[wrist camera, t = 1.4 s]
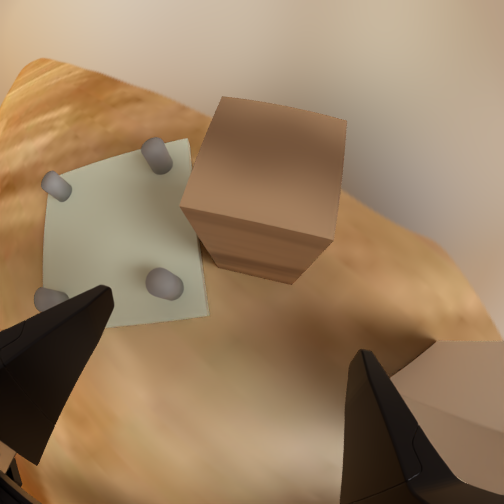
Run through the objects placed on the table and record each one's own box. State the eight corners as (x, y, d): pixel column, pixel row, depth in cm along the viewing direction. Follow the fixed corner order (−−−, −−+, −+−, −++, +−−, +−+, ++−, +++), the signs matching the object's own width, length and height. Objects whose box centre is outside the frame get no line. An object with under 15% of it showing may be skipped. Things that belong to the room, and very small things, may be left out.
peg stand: (210, 315, 22) (199, 314, 18) (53, 331, 21) (25, 330, 17) (189, 145, 26) (180, 118, 22) (56, 183, 25) (35, 166, 21)
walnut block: (291, 284, 22) (333, 240, 10) (218, 267, 23) (179, 205, 11) (305, 215, 24) (346, 120, 12) (236, 200, 24) (222, 96, 12)
